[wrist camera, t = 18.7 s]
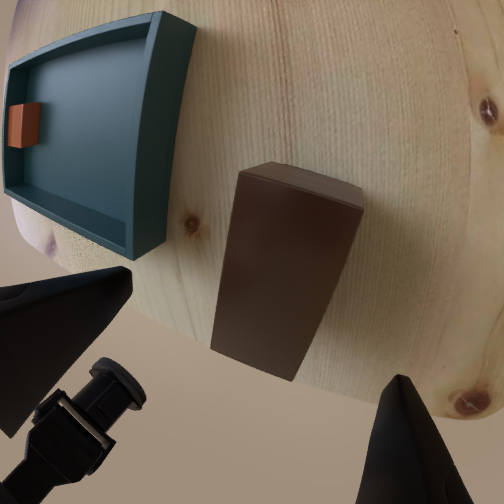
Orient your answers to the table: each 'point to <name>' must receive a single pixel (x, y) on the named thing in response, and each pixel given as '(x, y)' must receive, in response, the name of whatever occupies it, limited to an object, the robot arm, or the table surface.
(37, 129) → the clay crumb
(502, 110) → the table surface
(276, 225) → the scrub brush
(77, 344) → the robot arm
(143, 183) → the tray
